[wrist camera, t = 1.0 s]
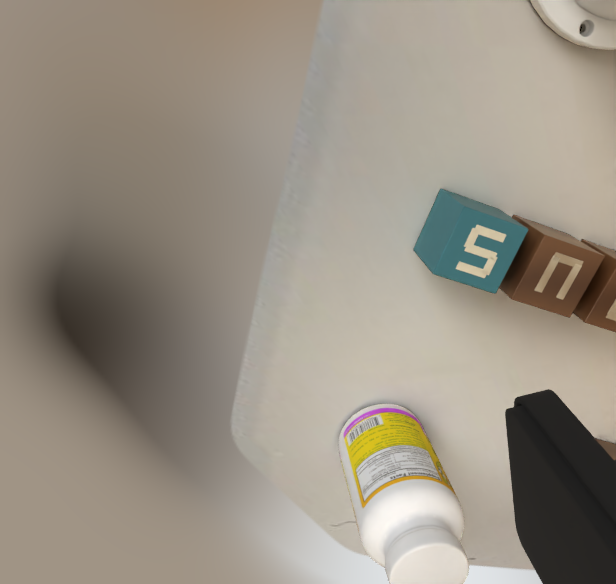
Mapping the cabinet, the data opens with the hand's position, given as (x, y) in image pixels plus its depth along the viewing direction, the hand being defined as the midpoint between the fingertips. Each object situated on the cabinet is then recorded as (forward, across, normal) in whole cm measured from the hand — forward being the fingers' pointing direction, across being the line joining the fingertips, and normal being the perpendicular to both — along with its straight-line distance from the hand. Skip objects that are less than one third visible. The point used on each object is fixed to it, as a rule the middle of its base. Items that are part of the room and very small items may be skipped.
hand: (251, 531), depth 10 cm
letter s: (+28, -12, +7) cm, 32 cm away
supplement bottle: (+29, -5, +22) cm, 36 cm away
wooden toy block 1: (+28, -17, +10) cm, 35 cm away
